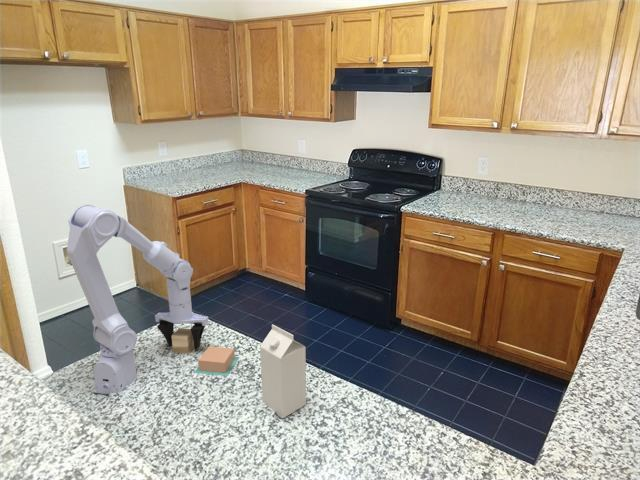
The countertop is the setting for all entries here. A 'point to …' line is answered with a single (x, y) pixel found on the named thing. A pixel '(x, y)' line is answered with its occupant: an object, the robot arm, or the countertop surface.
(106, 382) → the robot arm
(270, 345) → the milk carton
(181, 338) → the maple block
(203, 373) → the board
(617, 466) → the countertop surface
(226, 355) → the base block
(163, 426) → the countertop surface
